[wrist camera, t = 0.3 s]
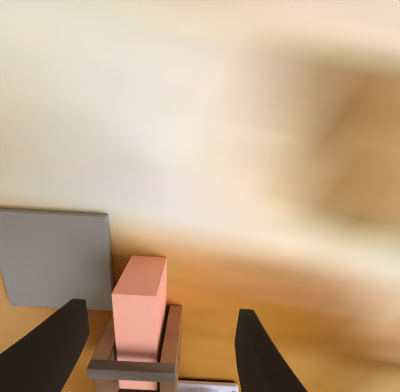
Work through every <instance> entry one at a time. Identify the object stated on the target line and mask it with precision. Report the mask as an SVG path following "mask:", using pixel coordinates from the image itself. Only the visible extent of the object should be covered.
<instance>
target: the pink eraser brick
mask: <svg viewBox="0 0 400 392" xmlns="http://www.w3.org/2000/svg"><path fill="white" fill-rule="evenodd" d="M166 277H167V257H153V256H135V255H132V256H131V258H130V260H129V262H128V264H127V266H126V268H125V270H124V271H123V273H122V275H121V277H120V279H119V281H118V283H117V285H116V287H115V288H114V290H113V292H112V305H113V317H114V329H115V340H116V352H117V361H136V362H155V363H160V359H161V354H162V348H163V342H164V337H165V331H166ZM119 387H120V388H121V389H141V390H157V387H158V382H148V381H129V380H119Z"/></svg>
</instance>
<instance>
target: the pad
mask: <svg viewBox="0 0 400 392" xmlns="http://www.w3.org/2000/svg"><path fill="white" fill-rule="evenodd" d="M0 269H1V272H2V276H3V280H4V283H5V287H6V291H7V295H8V298H9V302H10V305H12V306H31V307H50V308H61V307H62V306H64V305H65V304H66V303H67V302H69V301H70V300H71V299H86V307H87V310H106V311H113V305H112V292H113V290H114V283H113V270H112V258H111V246H110V233H109V221H108V214H93V213H75V212H58V211H40V210H22V209H5V208H0Z"/></svg>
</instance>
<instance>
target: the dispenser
mask: <svg viewBox="0 0 400 392" xmlns="http://www.w3.org/2000/svg"><path fill="white" fill-rule="evenodd" d="M181 321H182V306H179V305H170V309H169V314H168V320H167V325H166V331H165V337H164V342H163V348H162V354H161V359H160V363H155V362H136V361H117V352H116V340H115V329H114V317H113V314H112V316H111V318H110V320H109V323H108V325H107V327H106V329H105V331H104V333H103V335H102V337H101V340H100V342H99V344H98V346H97V348H96V350H95V352H94V354H93V357H92V359H91V361H90V363H89V365H88V367H87V375H88V378H89V379H94V383H95V390H96V392H177V384H178V374H179V363H180V346H181ZM119 380H129V381H148V382H158V387H157V390H141V389H121V388H120V387H119Z"/></svg>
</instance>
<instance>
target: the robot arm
mask: <svg viewBox="0 0 400 392" xmlns="http://www.w3.org/2000/svg"><path fill="white" fill-rule="evenodd" d="M88 335H89V325H88V316H87V307H86V299H71V300H70V301H69V302H67V303H66V304H65V305H64V306H62V307H61V308H60V309H59V310H57V311H56V312H55V313H54V314H52V315H51V316H50V317H49V318H47V319H46V320H45V321H44V322H42V323H41V324H40V325H38V326H37V327H36V328H35V329H33V330H32V331H31V332H29V333H28V334H27V335H26V336H24V337H23V338H22V339H20V340H19V341H18V342H16V343H15V344H14V345H12V346H11V347H9V348H8V349H7V350H5V351H4V352H3V353H1V354H0V392H61V390H62V388H63V386H64V385H65V383H66V381H67V379H68V377H69V375H70V374H71V372H72V370H73V368H74V366H75V364H76V362H77V361H78V359H79V357H80V354H81V352H82V350H83V347H84V345H85V343H86V340H87V338H88ZM235 351H236V362H237V370H238V375H239V380H240V386H241V391H242V392H308V391H307V390H306V389H305V388H304V386H303V385H302V384H301V382H300V381H299V380H298V378H297V377H296V376H295V374H294V373H293V371H292V370H291V369H290V367H289V366H288V364H287V363H286V362H285V360H284V359H283V357H282V356H281V354H280V353H279V351H278V350H277V348H276V347H275V345H274V344H273V342H272V340H271V339H270V337H269V336H268V334H267V332H266V331H265V329H264V327H263V326H262V324H261V322H260V321H259V319H258V317H257V315H256V313H255V312H254V311H253V310H249V309H240V311H239V317H238V323H237V330H236V336H235ZM177 392H238V385H237V384H236V383H225V382H205V381H186V380H178V384H177Z"/></svg>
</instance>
